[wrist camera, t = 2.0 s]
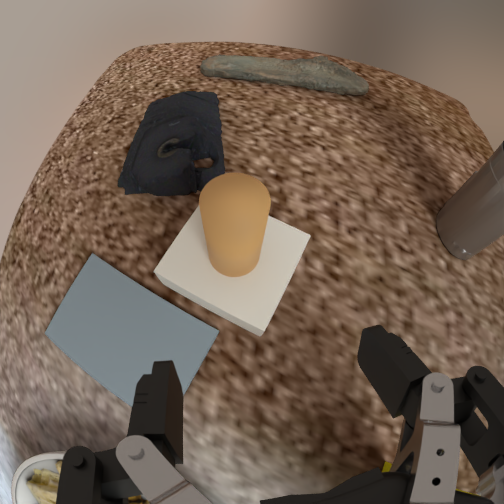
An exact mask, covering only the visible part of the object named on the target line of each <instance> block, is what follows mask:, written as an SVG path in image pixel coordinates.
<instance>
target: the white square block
mask: <svg viewBox="0 0 504 504" xmlns="http://www.w3.org/2000/svg"><path fill="white" fill-rule="evenodd" d="M310 236H311V235H309V234H307V233H304V232H302V231H300V230H298V229H296V228H294V227H292V226H290V225H288V224H286V223H284V222H281V221H279V220H277V219H275V218H273V217H271V216H269V215H268V220H267V225H266V229H265V234H264V239H263V243H262V248H261V253H260V257H259V261H258V263H257V265H256V267H255V268H254V269H253V270H252V271H251V272H249V273H248V274H246V275H244V276H240V277H228V276H225V275H223V274H221V273H219V272H218V271H216V270H215V269H214V267H213V266H212V264H211V262H210V260H209V255H208V250H207V245H206V240H205V234H204V229H203V224H202V218H201V213H200V207H199V206H198V207H197V209H196V210H195V211H194V213H193V214H192V216H191V217H190V218H189V220H188V221H187V223H186V224H185V226H184V227H183V228H182V230H181V231H180V233H179V234H178V236H177V237H176V239H175V240H174V241H173V243H172V244H171V246H170V247H169V249H168V250H167V252H166V253H165V255H164V256H163V258H162V259H161V261H160V262H159V264H158V265H157V267H156V269H155V270H154V273H155V274H156V275H157V277H158V278H159V279H160V281H161V282H162V283H163V284H164V285H165V286H167V287H169V288H171V289H172V290H174V291H176V292H178V293H179V294H181V295H183V296H185V297H186V298H188V299H190V300H192V301H193V302H195V303H197V304H199V305H201V306H202V307H204V308H206V309H208V310H210V311H212V312H213V313H215V314H217V315H219V316H221V317H223V318H225V319H227V320H228V321H230V322H232V323H234V324H236V325H238V326H240V327H242V328H244V329H246V330H248V331H250V332H252V333H254V334H256V335H258V336H260V337H261V335H262V334H263V333H264V331H265V329H266V327H267V326H268V324H269V322H270V320H271V318H272V316H273V314H274V312H275V310H276V308H277V306H278V304H279V302H280V299H281V297H282V295H283V293H284V291H285V289H286V287H287V285H288V283H289V281H290V279H291V277H292V275H293V273H294V270H295V268H296V266H297V264H298V262H299V260H300V258H301V256H302V253H303V251H304V249H305V247H306V245H307V243H308V240H309V238H310Z"/></svg>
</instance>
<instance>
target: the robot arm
mask: <svg viewBox="0 0 504 504" xmlns="http://www.w3.org/2000/svg"><path fill="white" fill-rule="evenodd" d="M436 223H437V229H438V233H439V236H440V238H441V240H442V242H443V244H444V245H445V247H446V248H447V249H448V250H449V251H450V252H451V253H452V254H453V255H454V256H455V257H457V258H459V259H462V260H467V259H469V258H471V257H472V256H474V255H475V254H477V253H478V252H480V251H481V250H483V249H484V248H486V247H487V246H489V245H490V244H491V243H493V242H494V241H495V240H497V239H498V238H499V237H501V236H502V235H503V234H504V141H503V143H502V144H501V145H500V146H499V147H498V149H497V150H496V151H495V152H494V153H493V155H492V156H491V157H490V158H489V159H488V161H487V162H486V163H485V164H484V165H483V166H482V167H481V168H480V170H479V171H476V172H474V173H473V175H472V176H471V177H470V178H469V179H468V180H467V181H466V182H465V183H464V184H463V185H462V187H461V188H460V189H459V190H458V191H457V192H456V193H455V194H454V195H453V196H452V197H451V198H450V199H449V200H448V201H447V202H446V203H445V204H444V207H443V208H442V209H441V210H440V211H439V213H438V215H437V220H436ZM358 363H359V366H360V368H361V369H362V371H363V372H364V374H365V375H366V377H367V378H368V380H369V381H370V383H371V385H372V386H373V388H374V389H375V391H376V392H377V394H378V395H379V397H380V398H381V400H382V402H383V403H384V405H385V406H386V408H387V409H388V411H389V412H390V414H391V416H392V417H393V418H395V417H398V416H400V415H403V416H404V420H403V423H402V429H401V434H400V439H399V444H398V449H397V453H396V457H395V459H394V462H393V464H392V466H391V468H390V471H389V472H381V471H380V469H379V467H377V468H375V469H372V470H370V471H367V472H365V473H362V474H360V475H357V476H354V477H352V478H350V479H349V480H347V481H345V482H344V483H342V484H340V485H339V486H337V487H335V488H333V489H332V490H330V491H328V492H326V493H321V494H303V495H288V496H283V497H278V498H273V499H267V500H261V501H260V504H504V387H503V386H502V385H501V384H500V383H499V382H498V380H497V379H496V378H495V377H494V376H493V375H492V374H491V373H490V371H489V370H487V369H486V368H484V367H482V366H473V367H471V368H470V369H469V370H468V372H467V374H466V375H465V377H460V378H454V379H450V378H449V377H448V376H446V375H444V374H442V373H432V372H431V371H430V370H429V369H428V368H427V367H426V365H425V364H424V363H423V362H422V361H421V360H420V359H419V358H418V356H417V355H416V354H415V353H414V352H412V350H411V349H410V347H408V346H407V344H406V343H405V342H404V341H403V340H402V339H401V338H400V337H398V336H396V335H395V334H393V333H388V332H387V331H386V330H385V329H384V328H383V327H382V326H381V325H375V326H372V327H368V328H365V329H363V331H362V335H361V340H360V345H359V350H358ZM477 407H478V409H479V410H480V412H481V413H482V414H483V416H484V417H485V418H486V420H487V421H488V430H487V428H486V427H485V426H484V424H483V423H482V421H481V420H480V419H479V417H478V416H477V415H476V413H475V412H474V410H475V409H476V408H477ZM460 447H461V448H462V450H463V452H464V453H465V455H466V456H467V458H468V460H469V461H470V463H471V465H472V467H473V468H474V470H475V472H476V473H477V475H478V477H479V483H478V486H477V488H476V493H477V494H478V495H481V496H477V495H473V494H469V493H465V492H462V491H458V490H456V483H457V475H458V465H459V453H460ZM175 464H183V391H182V386H181V383H180V380H179V377H178V374H177V371H176V368H175V365H174V363H173V361H172V360H166V361H154V363H153V367H152V373H151V374H143V376H142V377H141V378H140V380H139V381H138V382H137V385H136V390H135V396H134V400H133V405H132V411H131V417H130V422H129V428H128V434H127V437H126V438H124V439H123V440H122V441H120V443H119V444H118V446H117V447H116V448H114V449H111V450H107V451H102V452H96V453H93V452H92V451H91V450H89V449H88V448H86V447H83V446H76V447H73V448H71V449H69V450H68V451H67V452H66V453H65V454H64V456H63V460H62V465H61V471H60V477H59V483H58V490H57V498H56V504H128V497H133V496H138V495H144V496H145V497H146V499H147V500H148V501H149V503H150V504H212V503H211V502H210V501H209V500H208V499H207V498H206V497H205V496H203V495H202V494H201V493H200V492H199V491H198V490H197V489H196V488H195V487H194V486H193V485H192V484H191V483H189V482H188V481H186V480H185V479H184V478H183V477H182V476H181V475H180V474H179V473H178V472H177V470H176V469H175Z"/></svg>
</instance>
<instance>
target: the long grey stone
mask: <svg viewBox="0 0 504 504" xmlns="http://www.w3.org/2000/svg"><path fill="white" fill-rule="evenodd" d="M200 68H201V73H203V75H205V76H209V77H212V76H214V77H223V78H234V79H243V80H247V81H260V82H266V83H274V84H278V85H282V86H283V85H294V86H301V87H306V88H308V89H315V90H324V91H328V92H333V93H337V94H342V95H344V94H352V95H365V94H366V93H367V92H368V89H369V85H368V83H367V81H366V80H364V79H363V78H362V77H360V76H358V75H356V74H355V72H352V71H351V70H350V69H348V68H347V67H345V66H342V65H339V64H338V63H336V62H332V61H331V60H330V61H329V60H328V58H327V57H324V56H318V57H314V59H296V60H281V59H276V58H267V57H252V56H236V55H234V56H226V55H218V56H213V57H209V58H207V59H206V60H204V61H202V65H201V66H200Z"/></svg>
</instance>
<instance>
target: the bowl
mask: <svg viewBox="0 0 504 504" xmlns="http://www.w3.org/2000/svg"><path fill="white" fill-rule="evenodd" d="M66 452H67V451H55V452H48V453H43V454H39V455H36V456H33V457H31V458H29V459H27V460H25V461H24V462H23V463H22V464H21V465H20V466H19V467H18V468H17V470H16V472H15V474H14V476H13V480H12V487H11V494H12V502H13V504H56V498H57V490H58V483H59V477H60V471H61V465H62V460H63V456H64V454H65V453H66ZM128 504H150V503H149V501H148V500H147V499H146V497H145V496H144V495H138V496H133V497H128Z"/></svg>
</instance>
